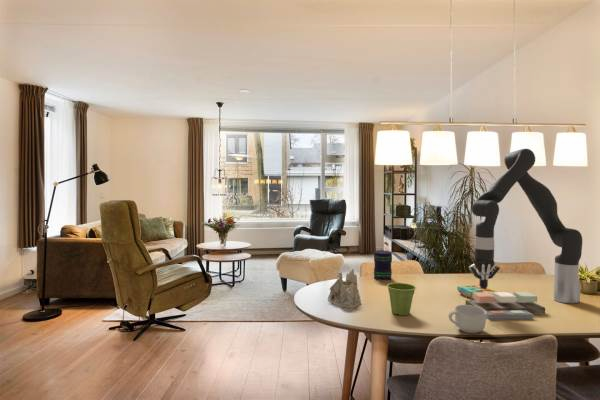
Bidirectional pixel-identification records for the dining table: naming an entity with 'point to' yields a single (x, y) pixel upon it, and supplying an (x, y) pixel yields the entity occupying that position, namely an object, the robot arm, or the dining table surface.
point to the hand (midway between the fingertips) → (483, 288)
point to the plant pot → (401, 297)
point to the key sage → (525, 297)
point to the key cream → (504, 297)
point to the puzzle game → (473, 290)
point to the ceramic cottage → (345, 291)
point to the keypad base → (508, 306)
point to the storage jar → (382, 265)
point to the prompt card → (508, 315)
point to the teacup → (469, 318)
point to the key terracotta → (483, 297)
